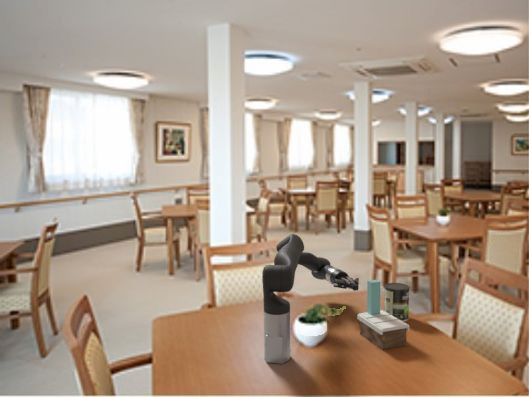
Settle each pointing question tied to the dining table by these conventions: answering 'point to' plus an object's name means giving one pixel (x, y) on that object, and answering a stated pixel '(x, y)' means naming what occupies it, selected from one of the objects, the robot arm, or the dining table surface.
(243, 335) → the dining table surface
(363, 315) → the lid
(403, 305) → the coffee can
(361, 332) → the tub
